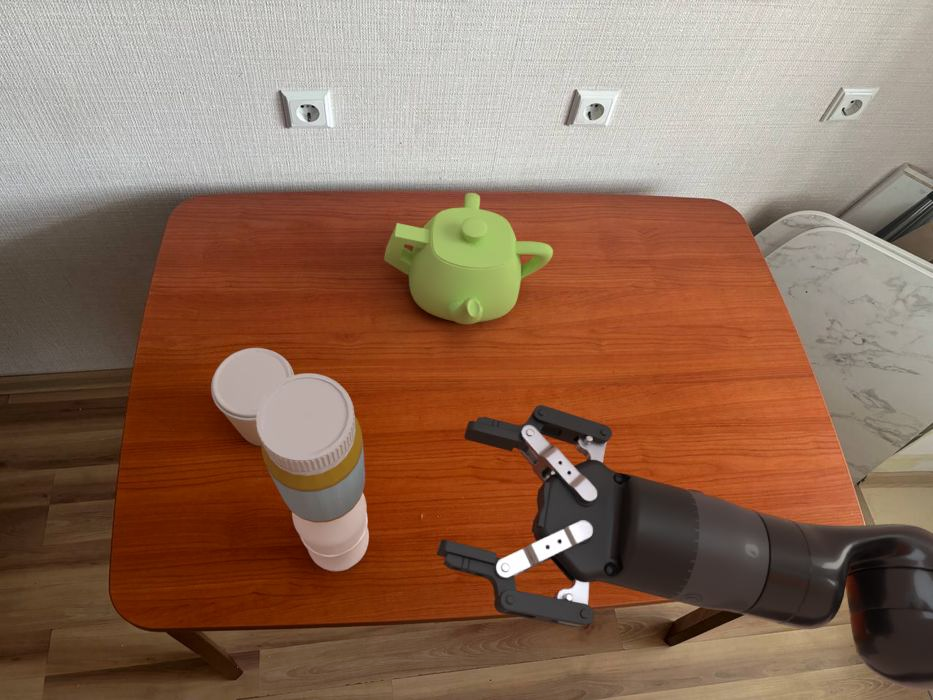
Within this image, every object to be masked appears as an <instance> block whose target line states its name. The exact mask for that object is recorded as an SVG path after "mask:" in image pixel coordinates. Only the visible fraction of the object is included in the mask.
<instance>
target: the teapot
mask: <svg viewBox="0 0 933 700" xmlns="http://www.w3.org/2000/svg"><path fill="white" fill-rule="evenodd" d="M480 204H481V196H480V195H479V194H478V193H475V192H467V193H465V195H464V200H463V205H462V207H452V208H447V209H443V210H441V211H439V212H438V213H436V214H435V215H434V216H433V217H432V218H431V219H429V221H427V223H426V224H424V226H423V227H418V226H413V225H409V224H403V223H398V222H396V224H395V226H394V229H393V231H392V233H391V235H390V238H389V240H388V242H387V245H386V247H385V253H384V259H383V261H384V262H386V263H387V264H389V265H391V266H393V267H394V268H396V269H398V270H399V271H400V272H402V273H404V274H406V275H407V276H408V285H409V291H410V294H411V297H412V299H413V300H414V302H415V303H416V305H417V306H418V307H419V308H421V309H422V310H423V311H425V312H426V313H428V314H430V315H432V316H434V317H438V318H440V319H443V320H447V321H452V322H455V323H456V324H459V325H466V326H467V325H474V324H476V323H482V322H489V321H493V320H496V319H500V318H502V317H503V316H506V315H507V314H509V312H511V310H513V308H514V306H515V305H516V303H517V301H518V298H519V294H520V289H521V280H523V279H524V278H527V277H529V276H530V275H532V274H533V273H536V272H538V271H539V270H540V269H542V268H543V267H545V266H546V265H547V264H548V263H549V262H550V261H551V259H552V257H553V255H554V250H553V248H552V245H549V244H548V243H545V242H542V241H541V242H540V241H531V240H522V241H521V240H517V237H516V235H515V231H514V230H513V227H512V226H511V223H510V222H509V221H508V220H507V218H505V217H503V216H502V215H500V214H498V213H496V212H493V211H489V210H485V209H481V208H480ZM405 245H408V246H411V247H413V248H412V250H410V249H408V248H406V247H405ZM521 255H527V256H528V255H529V256H533V257H532V258H531V259H529V260H527V262H525V263H523V264H522V261H521Z"/></svg>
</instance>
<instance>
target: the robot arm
mask: <svg viewBox="0 0 933 700" xmlns="http://www.w3.org/2000/svg"><path fill="white" fill-rule="evenodd" d="M612 431H613V430H612V429H611V427H609V426H608V425H606V424H604V423H600V422H598V421H593V420H591V419H588V418H584V417H581V416H578V415H575V414H571V413H569V412H565V411H562V410H559V409H556V408H553V407H549V406H547V405H543V404H540V405H536V407H534V409H533V411H532V413H531V414H530V416H529V417H528V419H527V421H526V422H525V423H523V424H514V423H512V422H511V423H510V422H507V421H504V420H503V421H502V420H499V419H495V418H491V417H487V416H480V417H477V419H476V420H469V421H468V422H467V424H466V428H465V431H464V435H463V436H464V439H465V440H467V441H470V442H474V443H477V444H482V445H484V446H485V445H486V446H490V447H493V448H497V449H501V450H504V451H508V452H512V451H513V450H514V449H517V451H518V452H519V453H520V454H521V455H522V456H523V458H524V459H525V460H526V461H527V462H528V463H529V464H530V466H531V468H532V471H533V473H534V474H535V475H536V476H537V477H538V478H539V479H540V481H541V482H542V484H541V485H540V487H539V488H538V491H537V497H536V506H537V512H536V514H535V517H534V518H533V521H532V526H531V533H533V537H534V540H535V541H534V542H532V543H530V544H528V545H526V546H525V547H523V548H521V549H519V550H517V551H514V552H512V553H510V554H509V555H506V556H504V557H499V556H497V554H498V553H497V552H495V551H490V550H487V549H483V548H481V547H480V548H479V547H477V546H476V547H475V546H472V545H469V544H464V543H460V542H457V541H452V540H449V539H440V541H439V542H438V547H437V551H436V555H437V556H439V557H442V558H444V560H443V565H444V566H446V568H448V569H449V570H452V571H456V572H461V573H464V574H468V575H472V576H475V577H479V578H483V579H485V580H488V581H489V583H490V584H491V585H492V589H493V595H494V601H493V605H494V608H495V610H496V611H497V612H498V613H500V614H502V615H508V616H513V617H519V618H523V619H529V620H534V621H539V622H544V623H549V624H554V625H560V626H566V627H571V628H578V627H580V626H585V625H589V624H590V623H592V621H593V620H594V611H593V608H592V607H591V606H590V605H589V595H590V583H593V582H601V583H604V584H607V585H612V586H617V587H620V588H623V589H627V590H632V591H634V592H635V591H636V592H640V593H642V594H647V595H651V596H655V597H659V598H662V599H666V600H670V601H672V602H673V601H674V602H677V603H682V604H686V605H689V606H693V607H698V608H702V609H707V610H715V611H724V612H730V613H736V614H740V615H744V616H748V617H752V618H755V619H759V620H763V621H765V622H770V623H775V624H778V625H782V626H786V627H789V628H790V627H791V628H795V629H799V630H817V629H820V628H823V627H825V626H827V625H828V624H829V623H831V622H832V620H834V618H835V617H836V616H837V614H838V612H839V611H840V609H841V606H842V603H843V600H844V596H845V593H846V598H847V606H848V613H849V622H850V628H851V634H852V641H853V646H854V649H855V653H856V654H857V656H858V658H859V659H860V661H861V662H862V664H863V665H864V666H865V667H866V668H867V669H869V671H871V672H873V674H875V675H876V676H878V677H879V678H882V679H883V680H884V681H886V682H889V683H891V684H894V685H896V686H899V687H901V688H905V689H910V690H916V691H926V692H927V691H929V692H930V691H933V532H931V531H930V530H928V529H926V528H923V527H920V526H916V525H912V524H906V523H883V524H866V525H865V524H864V525H839V524H837V525H836V524H819V523H808V522H807V523H806V522H800V521H795V520H791V519H787V518H784V517H780V516H777V515H772V514H769V513H766V512H761V511H757V510H754V509H751V508H748V507H747V508H746V507H744V506H741V505H738V504H736V503H733V502H731V501H729V500H726V499H723V498H721V497H717V496H713V495H710V494H707V493H704V492H703V491H700V490H697V489H692V488H688V489H687V488H684V487H679V486H675V485H671V484H668V483H664V482H661V481H660V482H659V481H657V480H653V479H649V478H645V477H641V476H637V475H632V474H628V473H624V472H623V473H622V472H619V471H615V470H613V469H611V468H609V467H608V466H607V465H606V464H605V463H604V457H605V453H606V452H605V451H606V446H607V443H608V442H609V440H610V439H611V438H612V437H613V432H612ZM544 436H545V437H544ZM546 437H548V438H551V439H554V440H558V441H560V442H563V443H567V444H570V445H573V446H574V448H575V450H576V451H577V452H578V453H580V454H582V455H583V456H584V457H585V459H586V460H585V461H582V462H580V463H577V464H573V463H572V462H571V461H570V460H569V458H567V456H565V454H563V452H562V451H561V450H560V449H559V448H558V447H557V446H555V445H552V444H551V443H550V442H549V441H548V439H546ZM548 561H552V562H553V564H554V565H555V566H556V567H557V568H558V569H559V570H560V572H561V573H562V574H563V575H564V576H565V577H566V579H567V580H569V581H570V582H571V585H570V587H569V588H562V589H560V590H558V591H556V592H555V593H554V596H553V597H552V596H547V595H542V594H537V593H532V592H526V591H520V590H517V586H516V585H517V584H516V578H515V577H516V576H518V575H521V574H522V573H524V572H528V571H529V570H531V569H533V568H535V567H537V566H540V565H542V564H543V563H546V562H548ZM845 591H846V592H845Z"/></svg>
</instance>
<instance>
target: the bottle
mask: <svg viewBox="0 0 933 700" xmlns="http://www.w3.org/2000/svg"><path fill="white" fill-rule="evenodd" d="M256 423H257V425H256V428H257V432H258V434H259V438H260V440H261V442H262V445H261V446H260V449H261V454H262V458H263V462H264V464H265V467H266V469H267V472H268V473H269V475H270V477H271V478H272V480H273V483H274V484H275V486H276V488H277V490H278V492H279V494H280V497H281V498H282V500H283V501H284V503H285V505H286V506H287V507H288V509H289V510H290V512H291V513H292V512H293V513H294V514H296V515H297V516H298V517H300V518H302V519H304V520H307V521H311V522H316V523H320V522H330V521H333V520H336V519H339V518H341V517H343V516H344V515H346V514H347V513H348V512H350V511H351V510H352V509H353V508H354V507H355V505H356V504H357V503H358V501H359V500H360V498H361V496H362V493H363V494H364V490H365V485H366V484H365V483H366V467H365V454H364V453H365V452H364V438H363V431H362V428H361V426H360V423H359V420H358V418H357V417H356V414H355V407H354V404H353V401H352V399H351V397H350V396H349V393H348V392H347V391H346V389H345V388H344V387H343V386H342V385H341V384H340V383H339V382H337V381H336V380H334V379H333V378H330V377H328V376H326V375H322V374H319V373H298V374H294V376H290V377H288V378H285V379H283V380H282V381H280V382H278V383H277V384H275V385H274V386H273V387H272V388H271V389H270V390H269V391H268V392H267V393H266V394H265V396H264V397H263V399H262V401H261V403H260V405H259V408H258V411H257V416H256Z"/></svg>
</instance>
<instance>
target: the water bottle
mask: <svg viewBox="0 0 933 700" xmlns="http://www.w3.org/2000/svg"><path fill="white" fill-rule="evenodd" d="M291 516H292V517H291V518H292V522H293V527H294V528H295V530H296V532H297V533H298V535H299V538H300V540H301V542H302V543H303V545H304V546H305V548H306V549H307V551H308V554H309V556H310V558H311V560H312V561H313V562H314V563H315V565H317V566H319V567H320V568H322V569H323V570H325V571H326V570H327V571H330V572H342V571H346V570H349V569H350V568H352V567H354V566H355V565H356V564H358V563H359V562H360V561H361V560H362V559H363V557H364V556H365V554H366V552H367V549H368V546H369V541H370V540H369V539H370V534H369V527H368V523H369V521H368V519H369V517H368V513H367V501H366V497H365V495H364V492H363V493H362V496H361V498H360V500H359V501H358V503H357V504H356V505H355V507H354V508H353V509H352V510H351V511H350V512H348V513H347V514H346V515H344V516H343V517H341V518H339V519H336V520H333V521H330V522H320V523H316V522H311V521H307V520H304V519H302V518H300V517H298V516H297V515H296V514H294V513H293V512H292V511H291Z"/></svg>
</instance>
